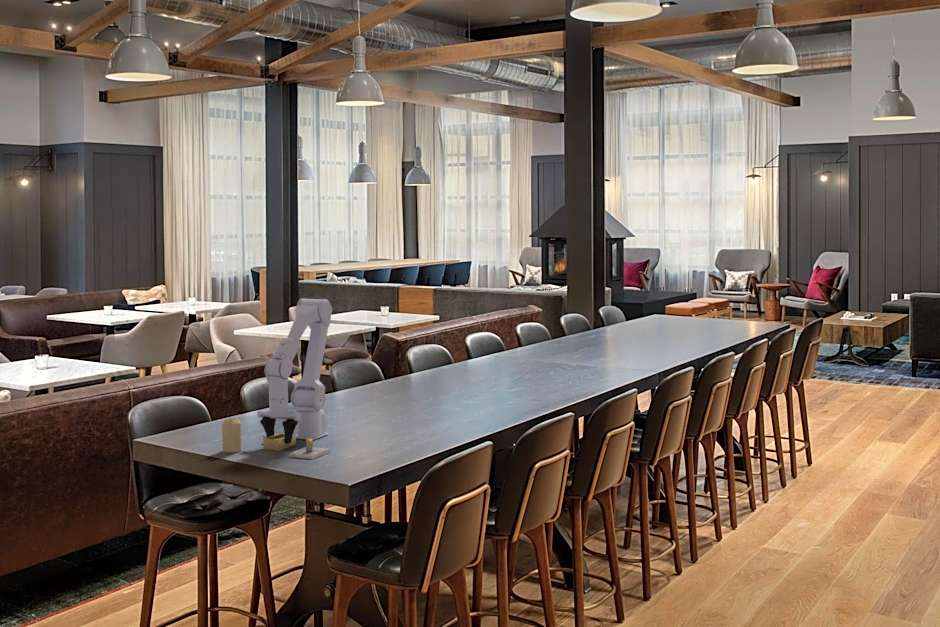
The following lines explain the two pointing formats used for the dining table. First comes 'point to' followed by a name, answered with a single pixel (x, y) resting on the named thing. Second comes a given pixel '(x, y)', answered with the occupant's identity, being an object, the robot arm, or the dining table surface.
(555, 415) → the dining table surface
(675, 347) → the dining table surface
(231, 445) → the candle
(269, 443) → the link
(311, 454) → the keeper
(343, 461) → the dining table surface
